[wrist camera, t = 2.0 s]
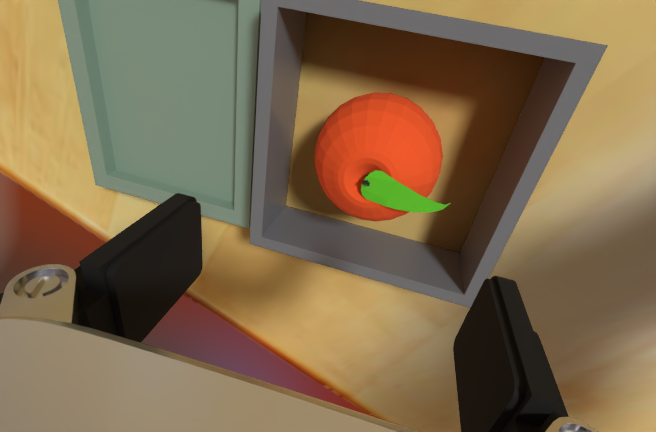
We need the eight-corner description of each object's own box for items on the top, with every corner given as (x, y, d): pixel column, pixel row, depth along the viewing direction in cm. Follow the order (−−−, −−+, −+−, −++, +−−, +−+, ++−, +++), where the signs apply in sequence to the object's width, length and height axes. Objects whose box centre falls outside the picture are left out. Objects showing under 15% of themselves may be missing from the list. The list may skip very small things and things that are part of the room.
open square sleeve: (570, 39, 18) (607, 45, 14) (467, 264, 25) (473, 308, 22) (295, -11, 20) (262, -17, 16) (275, 212, 27) (249, 243, 24)
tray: (276, -30, 20) (261, -34, 18) (260, 215, 28) (248, 228, 26) (73, -65, 22) (43, -72, 20) (115, 175, 30) (95, 184, 28)
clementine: (481, 122, 21) (500, 165, 15) (420, 213, 24) (416, 277, 18) (357, 62, 21) (326, 80, 15) (316, 162, 25) (278, 209, 19)
